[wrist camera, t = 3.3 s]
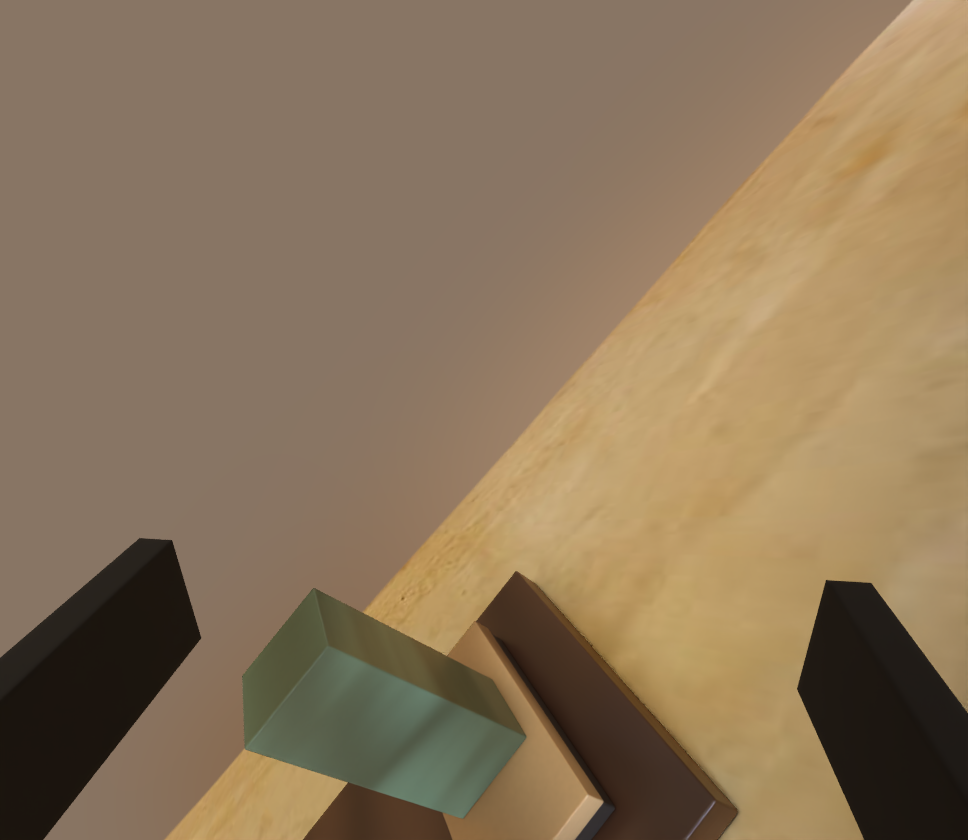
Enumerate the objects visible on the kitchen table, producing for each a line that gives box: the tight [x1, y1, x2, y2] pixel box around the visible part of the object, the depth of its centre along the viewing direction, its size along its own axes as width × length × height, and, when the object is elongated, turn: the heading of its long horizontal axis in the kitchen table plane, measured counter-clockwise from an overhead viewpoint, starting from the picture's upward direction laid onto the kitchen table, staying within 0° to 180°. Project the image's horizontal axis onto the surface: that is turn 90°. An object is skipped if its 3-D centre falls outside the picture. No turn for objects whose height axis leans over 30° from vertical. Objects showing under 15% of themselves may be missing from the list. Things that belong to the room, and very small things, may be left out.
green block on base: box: [242, 588, 615, 840], centre depth 19 cm, size 5×9×10 cm, turn 33°
